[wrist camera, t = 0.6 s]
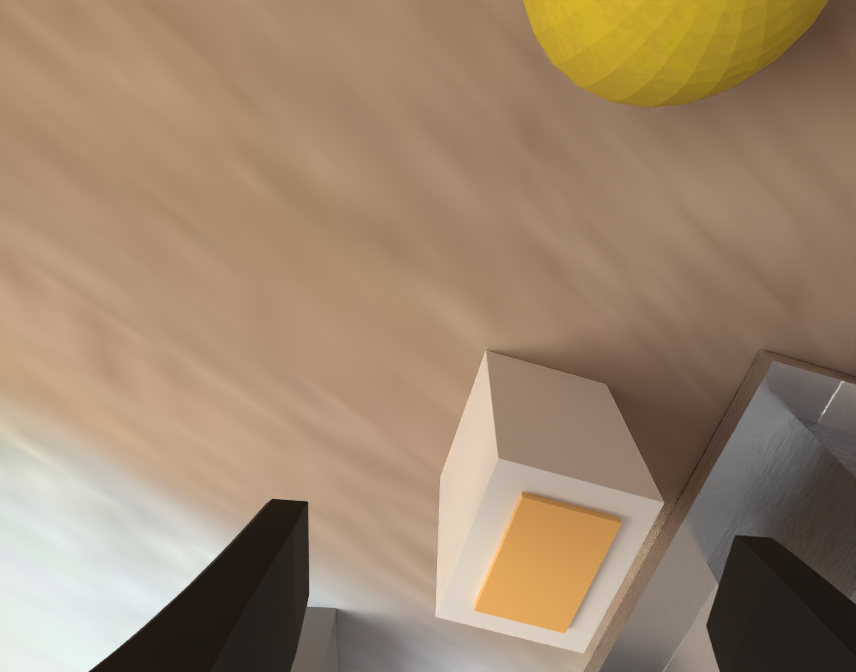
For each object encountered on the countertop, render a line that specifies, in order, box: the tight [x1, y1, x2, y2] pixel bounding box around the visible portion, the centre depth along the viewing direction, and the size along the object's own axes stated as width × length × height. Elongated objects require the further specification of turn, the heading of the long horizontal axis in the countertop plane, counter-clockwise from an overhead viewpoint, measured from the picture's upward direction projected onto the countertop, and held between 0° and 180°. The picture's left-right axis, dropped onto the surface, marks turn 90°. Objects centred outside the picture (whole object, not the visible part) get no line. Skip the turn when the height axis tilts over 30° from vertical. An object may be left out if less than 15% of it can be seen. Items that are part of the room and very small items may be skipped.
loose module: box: [436, 350, 664, 653], centre depth 18 cm, size 4×5×6 cm
